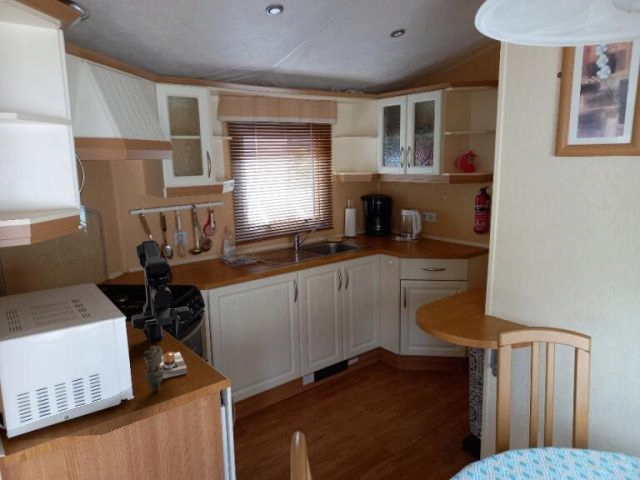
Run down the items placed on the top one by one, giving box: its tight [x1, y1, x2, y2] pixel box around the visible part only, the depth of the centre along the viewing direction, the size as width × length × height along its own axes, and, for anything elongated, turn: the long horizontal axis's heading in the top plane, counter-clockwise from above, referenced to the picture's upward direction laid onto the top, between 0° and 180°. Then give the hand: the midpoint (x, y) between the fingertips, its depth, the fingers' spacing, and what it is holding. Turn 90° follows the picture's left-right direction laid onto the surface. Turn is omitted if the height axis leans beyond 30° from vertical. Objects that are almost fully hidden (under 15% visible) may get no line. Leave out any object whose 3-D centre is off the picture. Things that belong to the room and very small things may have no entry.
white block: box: [160, 351, 188, 380], centre depth 159 cm, size 14×10×2 cm
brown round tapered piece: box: [162, 351, 176, 370], centre depth 156 cm, size 4×4×6 cm
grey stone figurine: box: [142, 345, 164, 392], centre depth 142 cm, size 6×6×15 cm
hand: (163, 339), depth 157 cm, fingers open, 9 cm apart
